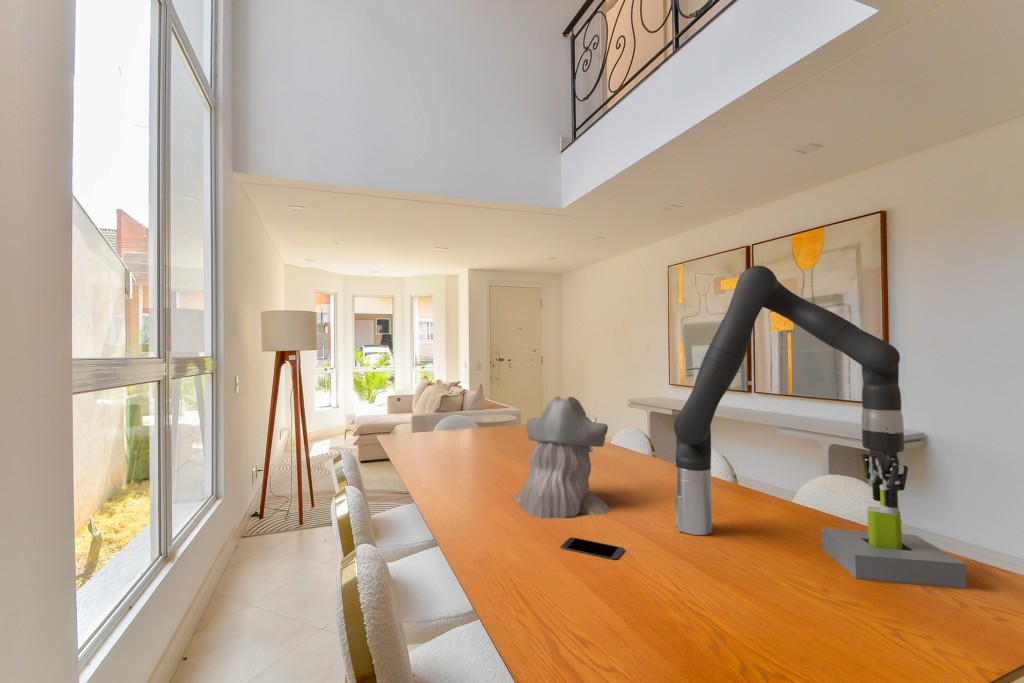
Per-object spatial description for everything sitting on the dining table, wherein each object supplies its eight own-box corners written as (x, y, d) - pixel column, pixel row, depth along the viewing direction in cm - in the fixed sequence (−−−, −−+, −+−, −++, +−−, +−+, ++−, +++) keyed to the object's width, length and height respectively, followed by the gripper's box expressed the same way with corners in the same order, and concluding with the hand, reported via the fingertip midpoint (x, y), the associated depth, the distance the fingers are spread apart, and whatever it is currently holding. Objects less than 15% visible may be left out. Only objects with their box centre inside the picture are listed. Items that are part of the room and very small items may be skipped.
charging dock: (855, 578, 98) (855, 555, 98) (822, 548, 113) (821, 528, 114) (966, 588, 93) (965, 563, 94) (915, 555, 109) (914, 534, 109)
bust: (626, 497, 157) (624, 395, 158) (588, 528, 128) (587, 403, 129) (539, 483, 174) (539, 392, 176) (489, 508, 145) (489, 398, 147)
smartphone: (617, 562, 107) (617, 558, 107) (559, 549, 114) (559, 546, 114) (626, 551, 113) (626, 547, 113) (570, 540, 120) (570, 536, 120)
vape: (905, 572, 100) (901, 481, 101) (870, 566, 104) (867, 478, 104) (901, 565, 104) (898, 477, 104) (868, 560, 107) (865, 474, 107)
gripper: (848, 424, 112) (850, 494, 112) (881, 432, 99) (884, 512, 98) (883, 424, 111) (885, 496, 110) (921, 434, 97) (925, 515, 96)
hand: (884, 503), depth 104 cm, fingers open, 4 cm apart
